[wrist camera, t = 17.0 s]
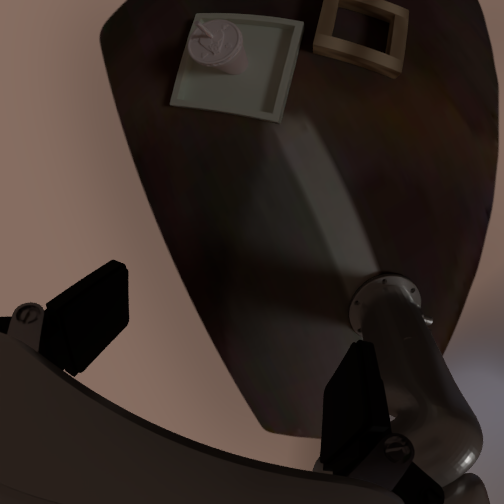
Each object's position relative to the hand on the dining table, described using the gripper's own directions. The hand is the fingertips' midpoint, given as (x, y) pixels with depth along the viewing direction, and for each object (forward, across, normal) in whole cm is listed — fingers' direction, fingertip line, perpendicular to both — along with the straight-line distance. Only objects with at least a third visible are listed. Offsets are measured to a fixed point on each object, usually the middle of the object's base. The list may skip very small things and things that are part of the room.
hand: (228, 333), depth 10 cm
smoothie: (+30, +12, -18) cm, 37 cm away
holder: (+30, -4, -28) cm, 41 cm away
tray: (+30, +12, -18) cm, 37 cm away
